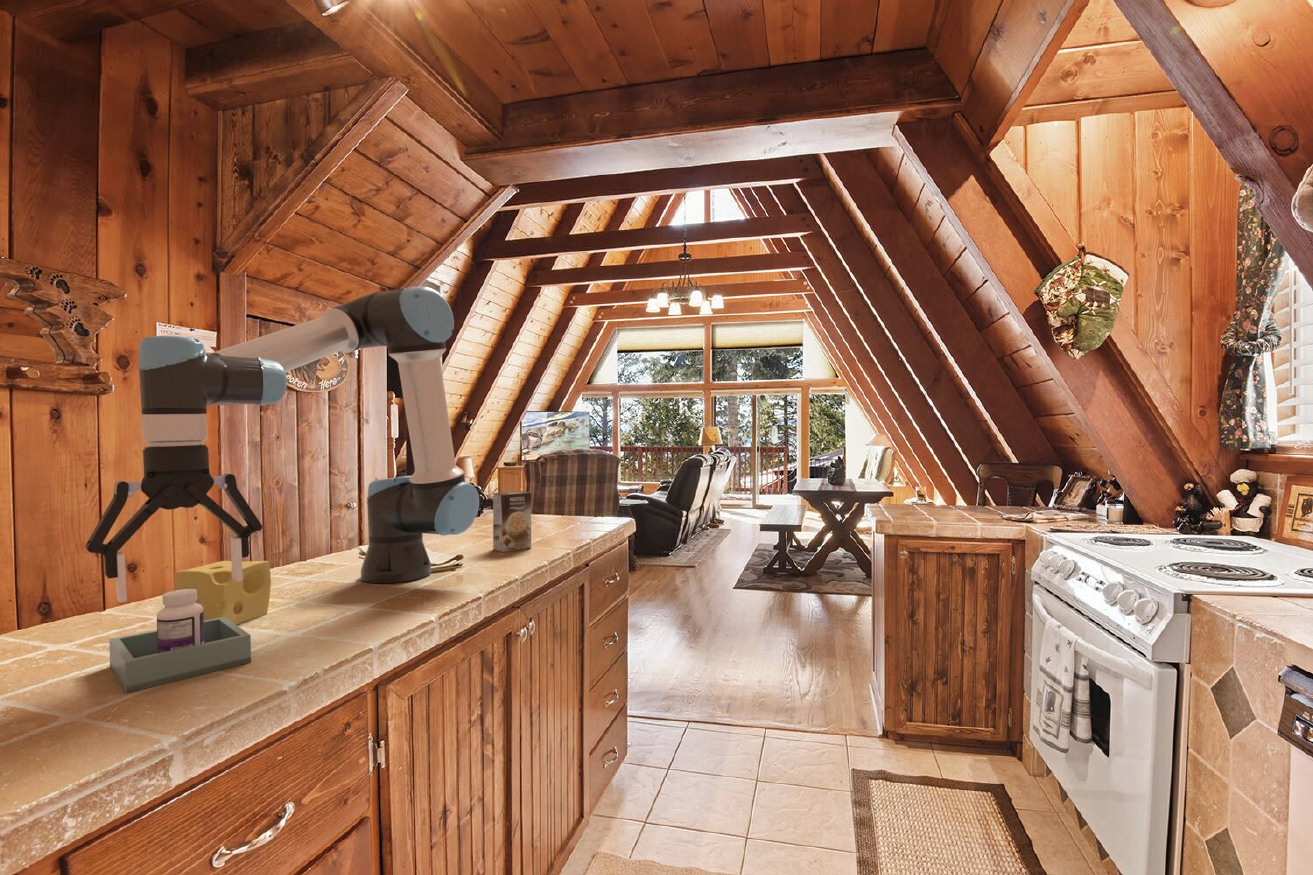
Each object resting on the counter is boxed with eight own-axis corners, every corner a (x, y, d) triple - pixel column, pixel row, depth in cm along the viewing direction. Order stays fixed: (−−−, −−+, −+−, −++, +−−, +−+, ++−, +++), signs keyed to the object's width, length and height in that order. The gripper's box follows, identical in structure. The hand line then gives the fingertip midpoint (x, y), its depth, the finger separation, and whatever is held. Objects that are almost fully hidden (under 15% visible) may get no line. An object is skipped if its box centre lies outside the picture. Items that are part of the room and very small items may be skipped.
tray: (225, 641, 100) (224, 616, 99) (251, 662, 90) (250, 634, 90) (109, 666, 89) (109, 638, 89) (125, 693, 80) (125, 662, 80)
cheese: (222, 631, 105) (221, 572, 105) (171, 627, 107) (170, 570, 107) (272, 613, 115) (271, 560, 115) (224, 610, 117) (223, 558, 117)
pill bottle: (179, 651, 93) (178, 587, 92) (213, 652, 92) (212, 587, 92) (147, 665, 87) (146, 597, 87) (183, 666, 87) (182, 597, 87)
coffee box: (502, 552, 171) (501, 494, 170) (492, 549, 176) (491, 493, 175) (532, 548, 177) (531, 492, 176) (521, 545, 181) (520, 490, 181)
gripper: (265, 440, 101) (271, 568, 102) (53, 448, 83) (62, 604, 83) (281, 440, 96) (286, 575, 97) (59, 449, 78) (67, 615, 78)
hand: (182, 589), depth 90 cm, fingers open, 13 cm apart
